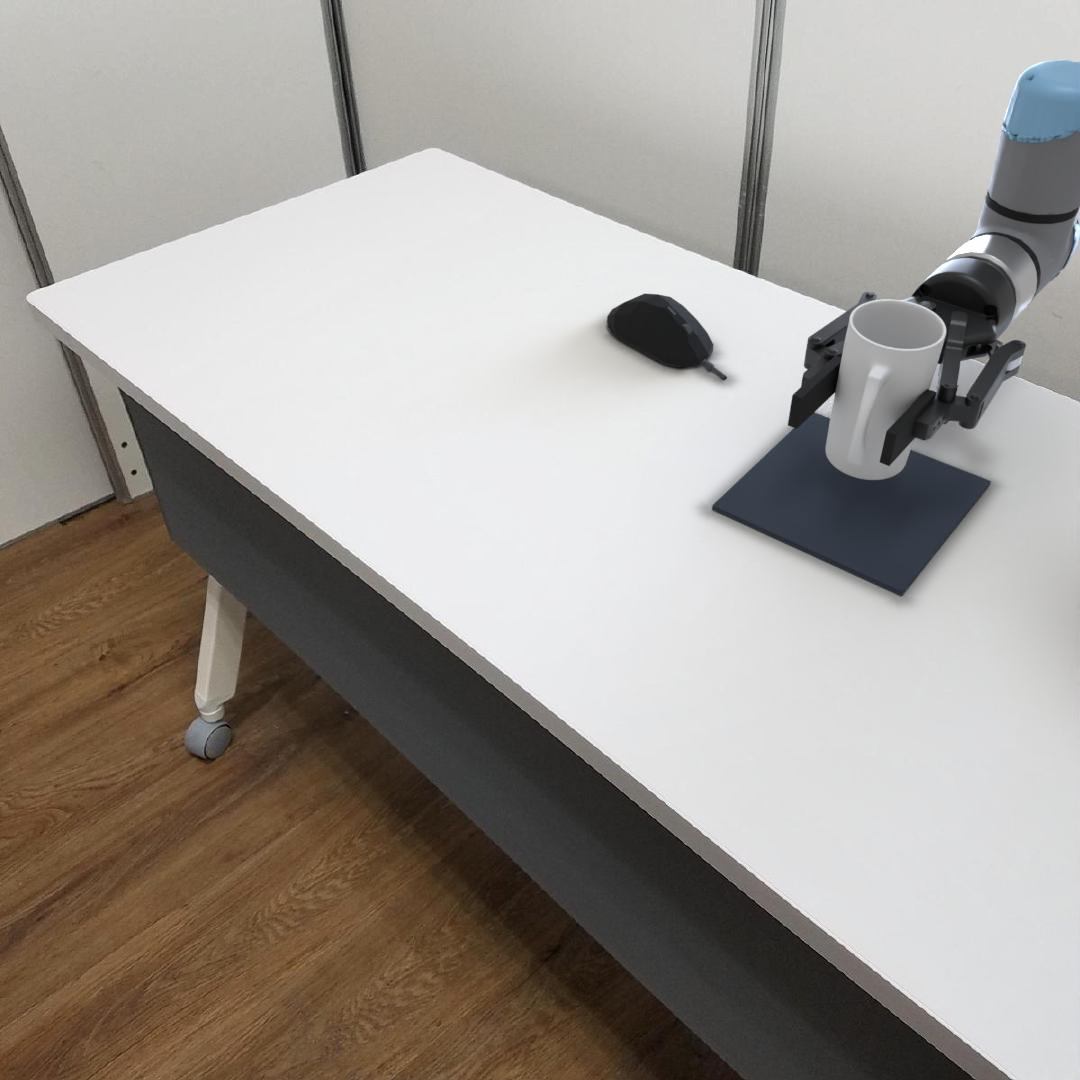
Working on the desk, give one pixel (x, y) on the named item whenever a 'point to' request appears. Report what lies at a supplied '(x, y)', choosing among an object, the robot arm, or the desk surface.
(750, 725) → the desk surface
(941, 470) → the mat
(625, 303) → the gaming mouse
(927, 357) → the mug
